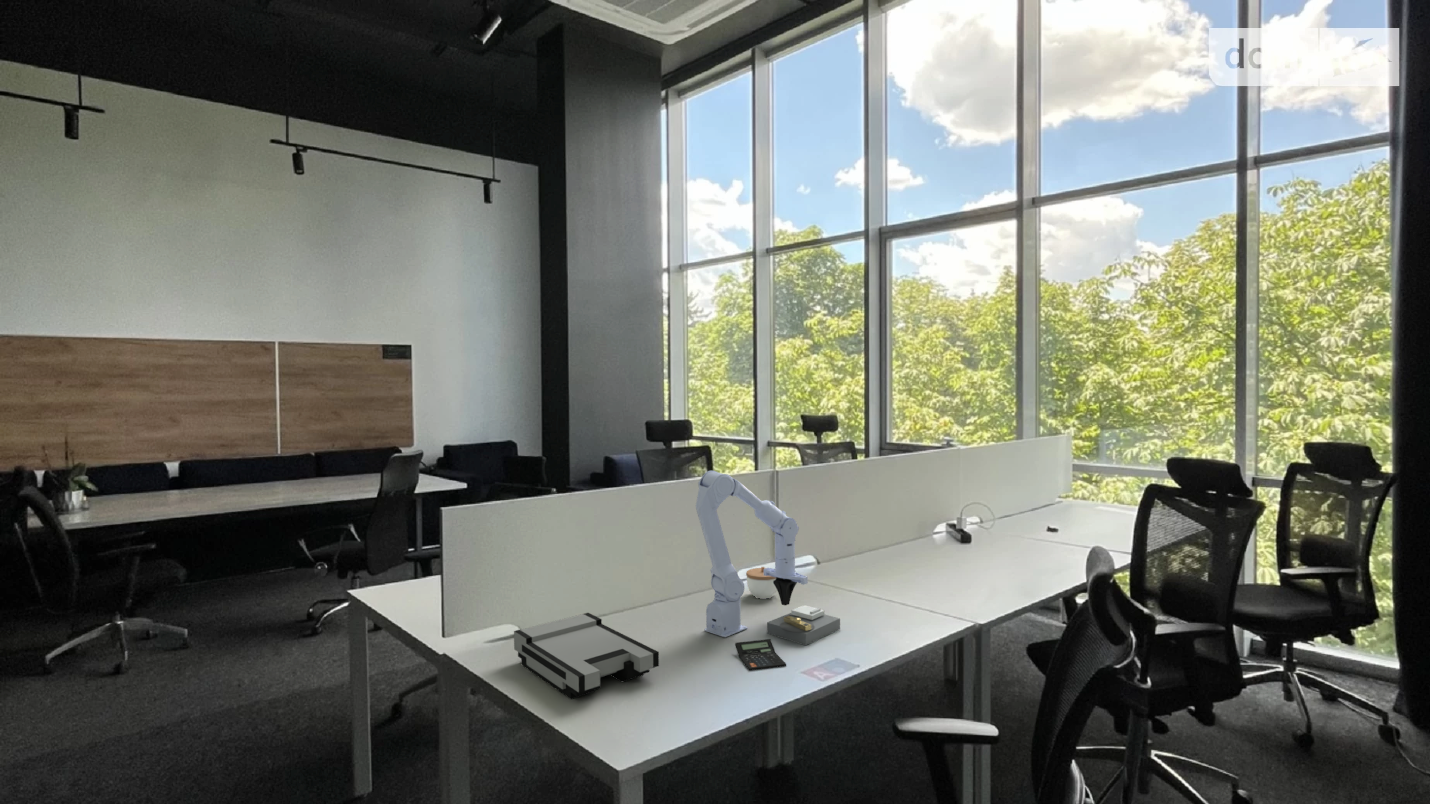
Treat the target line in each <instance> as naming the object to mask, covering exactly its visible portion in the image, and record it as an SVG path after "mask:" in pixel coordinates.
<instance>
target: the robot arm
mask: <svg viewBox="0 0 1430 804" xmlns="http://www.w3.org/2000/svg"><path fill="white" fill-rule="evenodd" d="M697 484H698V492H697V496H696V497H697V498H696V503H695V509H696V514H697V517H698V521H699V523H700V527H701V530H702V533H703V534H702V535H703V538H704V540H705V544H706V548H707V551H708V554H709V558H710V562H711V569H710V570H709V571H710V574H711V577H710V585H711V588H712V590H714V598H713V600H712V601H711V602H710V603H708V604H707V606H706V611H705V612H706V613H705V615H706V623H705V625H706V627H705V628H704V631H705V632H707V633H711V634H712V635H713V634H714V635H716V636H720V637H723V638H727V637H729V636H732V635H734V634H738V633H739V632H742V631H744V630H747V629H748V626H746V625H743V624H742V623H741V619H742V618H741V616H742V615H741V611H742V610H741V597H742V596H743V595H744V593H745V583H744V581H743V580H742V578H740V576H739V575H738V571H737V570H736V568H735V566H734V565H733V564H732V561H731V556H730V553H729V550H728V546H727V543H726V539H725V536H724V531H723V529H722V525H721V523H720V519H719V518H720V517H719V515H718V512H717V510H718V509H719V507H720V506H721V504H723V502H725V500H726V499H728V497H730V496H732V497H736V498H737V499H739V500H740V501H741V502H743V503H744V504H746V505H747V506H749V507H750V508H751V509H753V510H754V516H755V517H756V518H757V519H759V520H760V521H761V522H763V523H764V524H765V525H766V526H767V527H769V528H770V530H771V531H772V533H774V568H773V567H772V568H771V567H765V569H764V576H772V577H776V580H774V581H773V583H774V585H775V587H776V589H777V591H776V592H777V593H778V596H779V600H780V603H781V605H783V606H787V605H790V602H791V597H792V594H793V592H794V589H795V586H796V585H797V584H800V585H802V586H804V585H807V584H808V581H809V579H808V576H807V575H803V574H801V573H799V572H797V571H796V543H795V542H796V536H797V535H798V532H799V529H800V527H799V526H798V523H797V521H796V520H795V519H794V518H793V517H790V516H787V512H786V511H785V510H781V509H780V508H778V507H777V506H776V503H775V502H774V501H773V500H768V499H765V500H761V499H760V498H759V497H758V496H756V494H754V493H753V492H752V491H751V490H750V489H749V488H747V487H746V486H745V485H744V484H743V483H742V482H740V481H739V480H738V479H736V478H733V477H732V476H731V475H729V474H727V473H721V472H718V471H715V470H707V471H705V473H704V474H703V475H702V476H701V478H700V480H699V481H698V482H697Z"/></svg>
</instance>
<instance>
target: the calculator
mask: <svg viewBox="0 0 1430 804" xmlns="http://www.w3.org/2000/svg"><path fill="white" fill-rule="evenodd" d="M734 645H735V649H736V652H737V655H738V658H739V660H740V661H741V662H742V664H745V665H744V666H745V667H746V668H747V670H748V671H749V672H751V671H759V670H767V669H775V668H783V667H787V663H786V662H785V661H784V660H783V658H782V657H780V655H779V654H777V653H776V650H775V647H774V644H773V642H772V640H771V638H767V639H766V638H765V639H758V640H756V639H755V640H749V641H740V642H735V643H734Z"/></svg>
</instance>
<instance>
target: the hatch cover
mask: <svg viewBox="0 0 1430 804" xmlns="http://www.w3.org/2000/svg"><path fill="white" fill-rule="evenodd" d="M790 613H791V614H792V615H795V616H799V617H803V618H806V619H810V620H813V619H816V618H818V617H820V616H822V615H824V614H825V610H824V609H821V608H819V607H813V606H809V605H806V604H804V605H800V606H799V607H795V608H793V609H791V612H790Z"/></svg>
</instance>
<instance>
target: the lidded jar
mask: <svg viewBox="0 0 1430 804" xmlns="http://www.w3.org/2000/svg"><path fill="white" fill-rule="evenodd" d="M765 568H766V567H765V566H761V567H755V568H751V569H748V570H746V572H745V574H746V575H745V576H746V584H747V585H746V586H747V589H748V591H749V592H750V594H751V595H753V597H754V596H755V597H757V598H756V599H758V598H760V599H759V600H767V599H766V598H769V599H771V598H770V597H772V596H773V597H774V595H775V594H776V593H777V592H778V591H777V589H776V587H775V585H774V583H773V581H774V580H776V577H772V576H764V569H765ZM755 597H754V598H755ZM773 597H772V598H773Z"/></svg>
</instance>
